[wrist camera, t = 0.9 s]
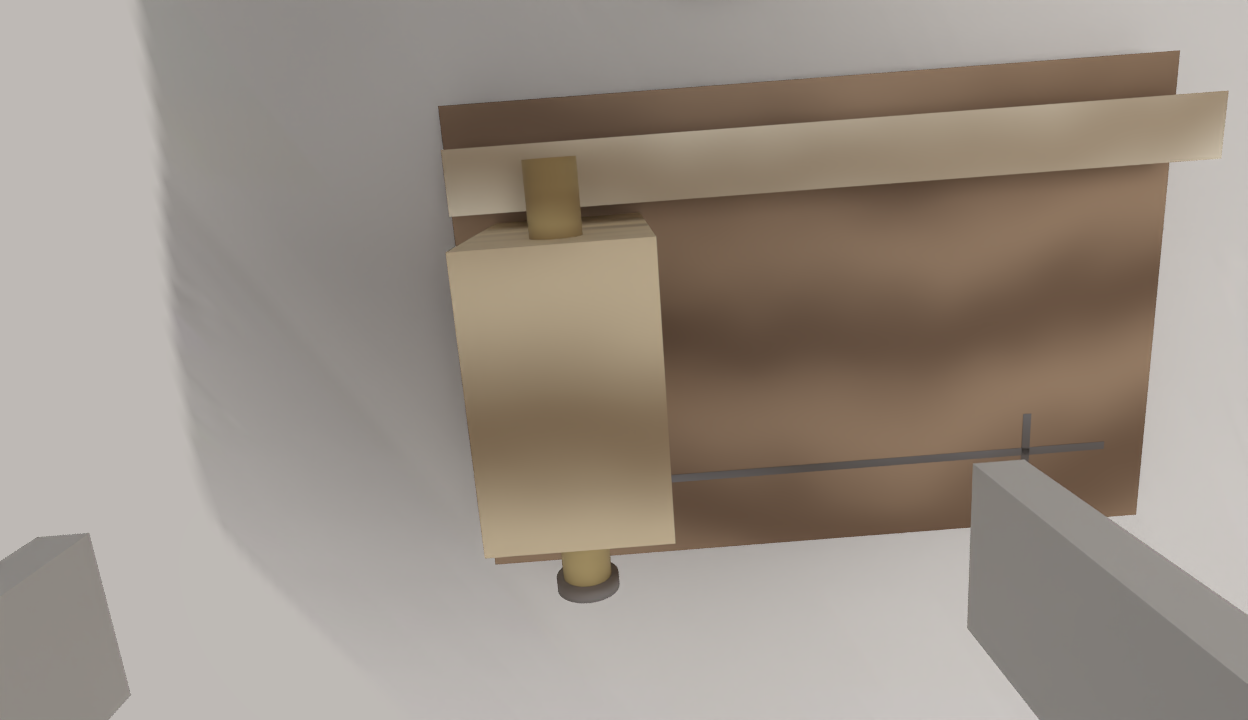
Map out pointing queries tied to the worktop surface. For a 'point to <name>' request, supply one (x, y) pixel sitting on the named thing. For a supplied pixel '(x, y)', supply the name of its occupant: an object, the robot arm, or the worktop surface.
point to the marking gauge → (565, 382)
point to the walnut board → (877, 277)
